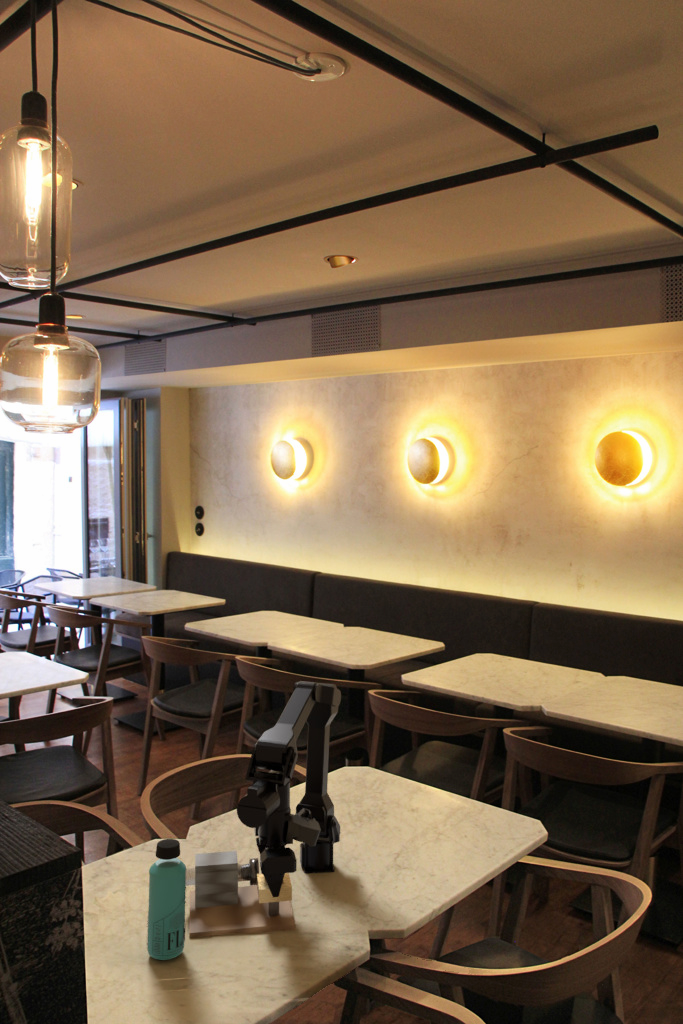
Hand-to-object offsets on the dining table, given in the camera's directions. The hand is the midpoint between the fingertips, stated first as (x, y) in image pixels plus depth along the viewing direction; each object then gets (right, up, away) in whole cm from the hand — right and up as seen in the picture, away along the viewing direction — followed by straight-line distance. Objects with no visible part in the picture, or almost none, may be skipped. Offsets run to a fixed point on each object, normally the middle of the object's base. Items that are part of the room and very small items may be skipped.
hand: (274, 888), depth 148 cm
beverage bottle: (-18, -6, -12) cm, 22 cm away
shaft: (-11, -2, +5) cm, 12 cm away
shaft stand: (-7, -6, +3) cm, 9 cm away
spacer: (0, -1, 0) cm, 1 cm away
